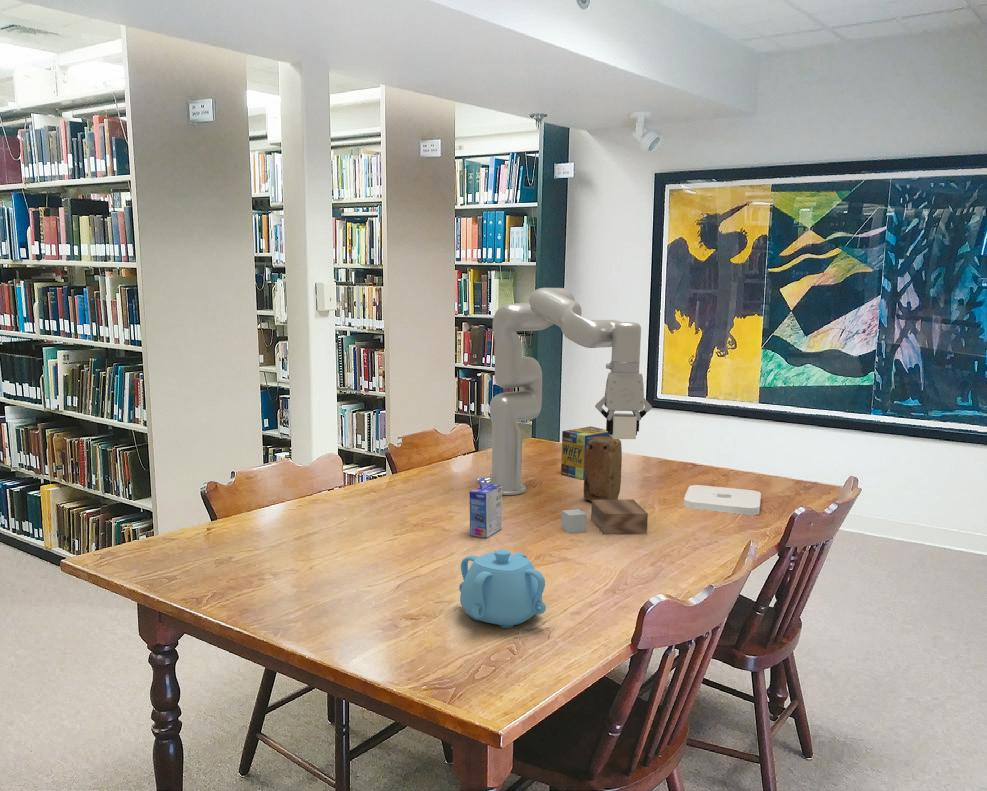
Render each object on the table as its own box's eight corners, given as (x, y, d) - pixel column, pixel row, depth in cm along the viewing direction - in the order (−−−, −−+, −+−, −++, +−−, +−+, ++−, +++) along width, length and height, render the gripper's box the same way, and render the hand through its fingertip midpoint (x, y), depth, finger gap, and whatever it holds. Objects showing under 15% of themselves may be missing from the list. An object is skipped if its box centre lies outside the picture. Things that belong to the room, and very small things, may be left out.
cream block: (613, 439, 220) (614, 416, 219) (609, 434, 226) (609, 413, 225) (635, 439, 220) (636, 417, 220) (630, 434, 226) (631, 413, 225)
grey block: (568, 533, 220) (569, 515, 219) (561, 528, 225) (561, 510, 224) (585, 532, 221) (586, 514, 221) (577, 526, 226) (578, 509, 225)
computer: (759, 517, 239) (759, 508, 239) (682, 509, 246) (682, 500, 246) (760, 499, 260) (761, 491, 260) (689, 492, 267) (690, 484, 267)
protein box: (560, 474, 286) (561, 430, 284) (589, 468, 296) (590, 426, 294) (582, 480, 278) (584, 435, 276) (611, 473, 289) (613, 430, 286)
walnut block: (603, 535, 219) (603, 514, 218) (591, 520, 233) (591, 499, 232) (646, 535, 221) (647, 513, 220) (632, 519, 234) (633, 499, 234)
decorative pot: (463, 635, 156) (464, 566, 154) (457, 601, 172) (458, 539, 170) (547, 632, 158) (549, 564, 156) (534, 599, 174) (536, 537, 172)
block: (622, 502, 251) (625, 438, 248) (609, 507, 245) (612, 442, 242) (592, 496, 258) (594, 433, 255) (578, 501, 252) (581, 437, 249)
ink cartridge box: (484, 525, 225) (485, 474, 223) (502, 528, 223) (503, 476, 221) (467, 535, 216) (468, 481, 214) (486, 538, 214) (488, 484, 212)
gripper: (596, 369, 216) (593, 436, 219) (660, 370, 217) (657, 437, 220) (590, 366, 224) (588, 431, 226) (653, 367, 225) (650, 431, 227)
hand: (622, 433), depth 223 cm, fingers closed on cream block, 6 cm apart
